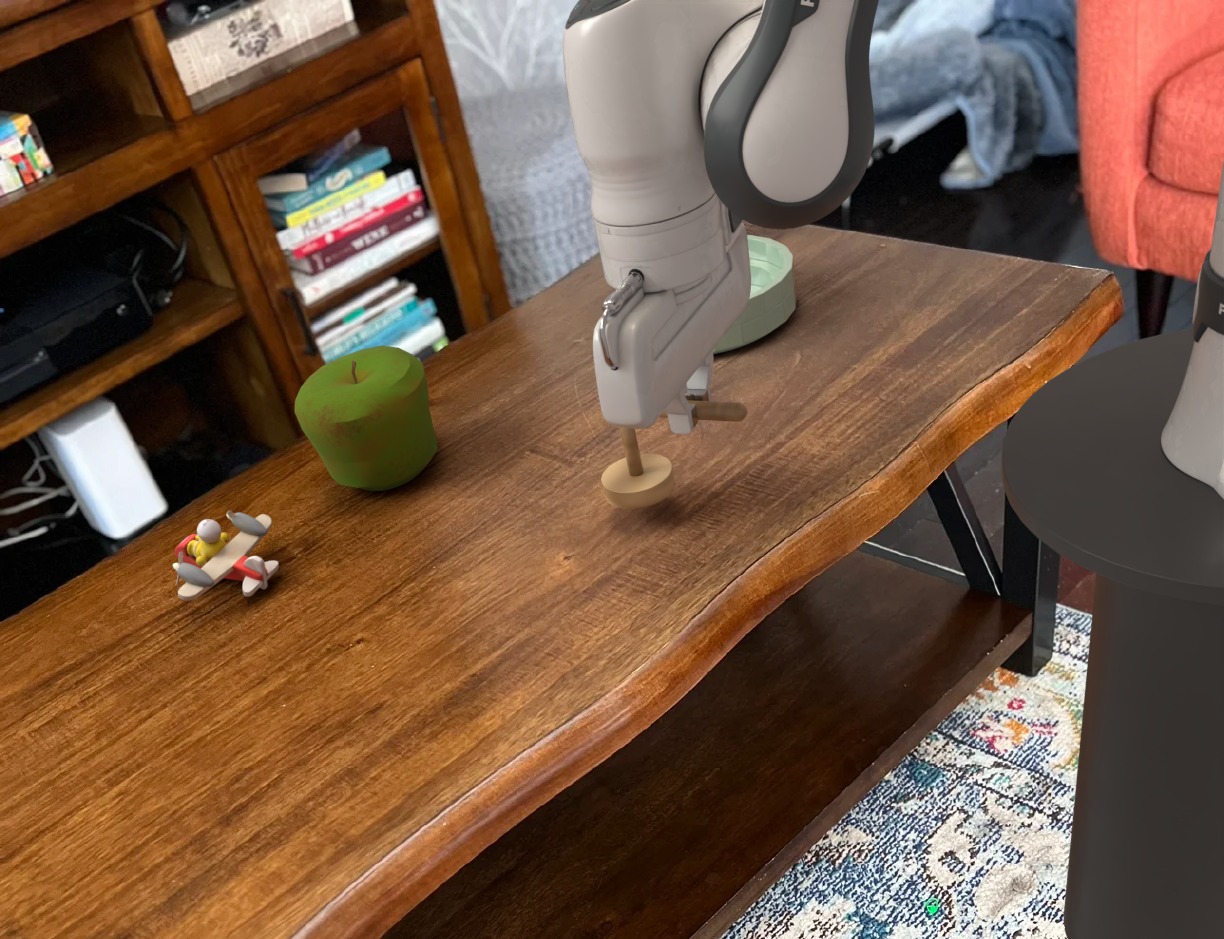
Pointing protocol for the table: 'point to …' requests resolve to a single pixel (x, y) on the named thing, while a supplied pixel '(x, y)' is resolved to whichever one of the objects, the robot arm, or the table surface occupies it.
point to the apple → (369, 418)
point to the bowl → (764, 294)
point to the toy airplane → (223, 556)
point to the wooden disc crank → (654, 462)
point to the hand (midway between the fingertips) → (692, 419)
